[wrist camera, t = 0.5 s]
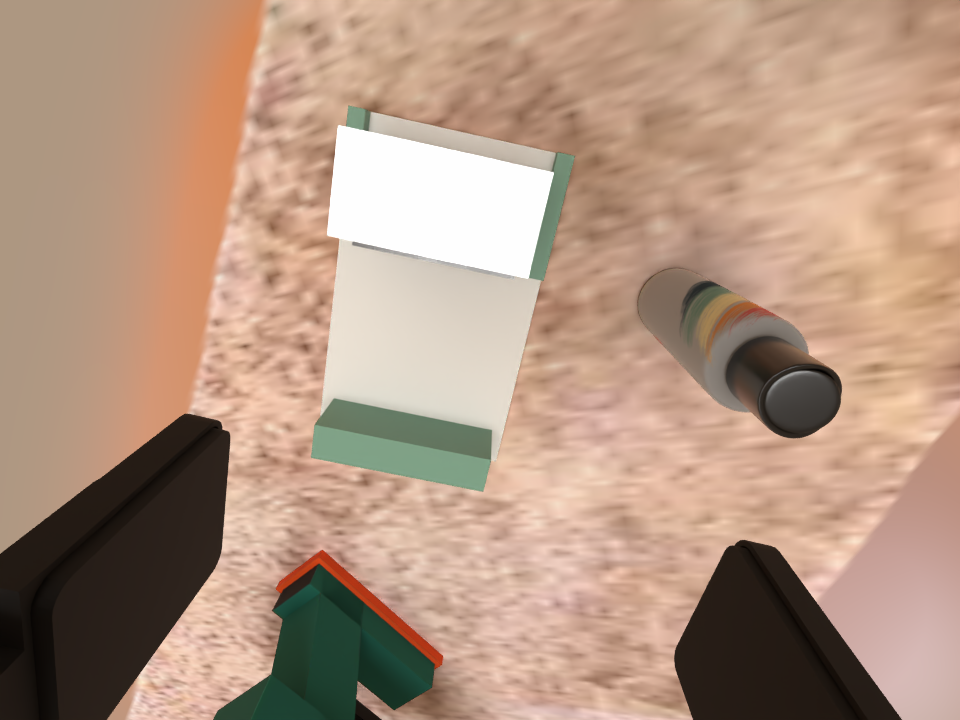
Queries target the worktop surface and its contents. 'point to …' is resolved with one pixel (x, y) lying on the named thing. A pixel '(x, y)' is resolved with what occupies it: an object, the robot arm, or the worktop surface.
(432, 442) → the frame
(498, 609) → the worktop surface
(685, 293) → the lotion bottle
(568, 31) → the worktop surface
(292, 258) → the worktop surface
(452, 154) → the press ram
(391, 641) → the power tool
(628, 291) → the worktop surface
